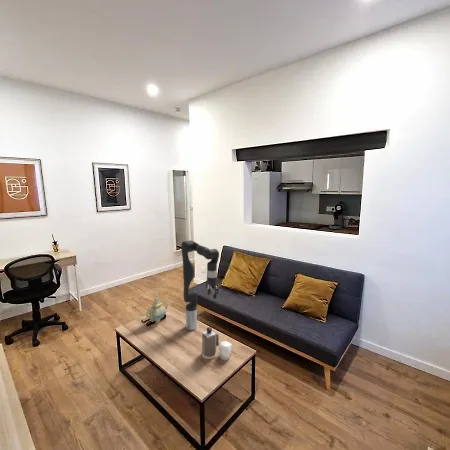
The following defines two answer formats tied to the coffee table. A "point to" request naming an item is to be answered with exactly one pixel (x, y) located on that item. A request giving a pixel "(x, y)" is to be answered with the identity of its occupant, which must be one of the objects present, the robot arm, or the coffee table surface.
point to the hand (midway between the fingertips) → (211, 296)
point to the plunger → (209, 330)
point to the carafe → (209, 344)
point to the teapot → (157, 309)
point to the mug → (225, 350)
